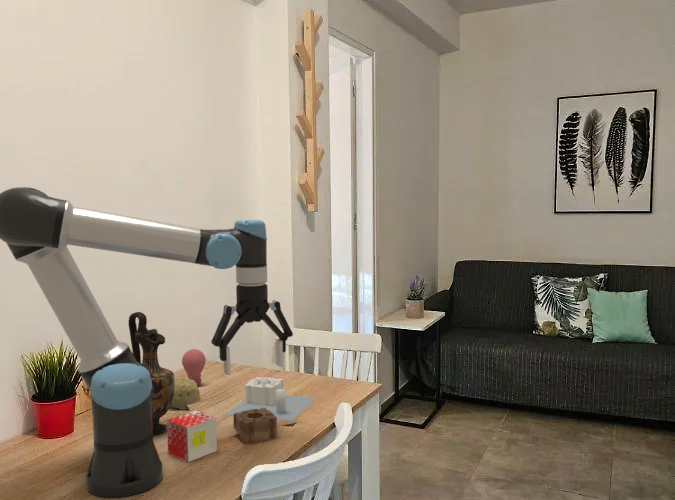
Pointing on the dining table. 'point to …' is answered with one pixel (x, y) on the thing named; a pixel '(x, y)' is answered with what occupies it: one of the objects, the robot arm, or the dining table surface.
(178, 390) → the decorative item
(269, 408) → the gear board
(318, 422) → the dining table surface
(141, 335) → the vase
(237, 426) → the walnut gear
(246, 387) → the gear
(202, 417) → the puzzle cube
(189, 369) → the light bulb
